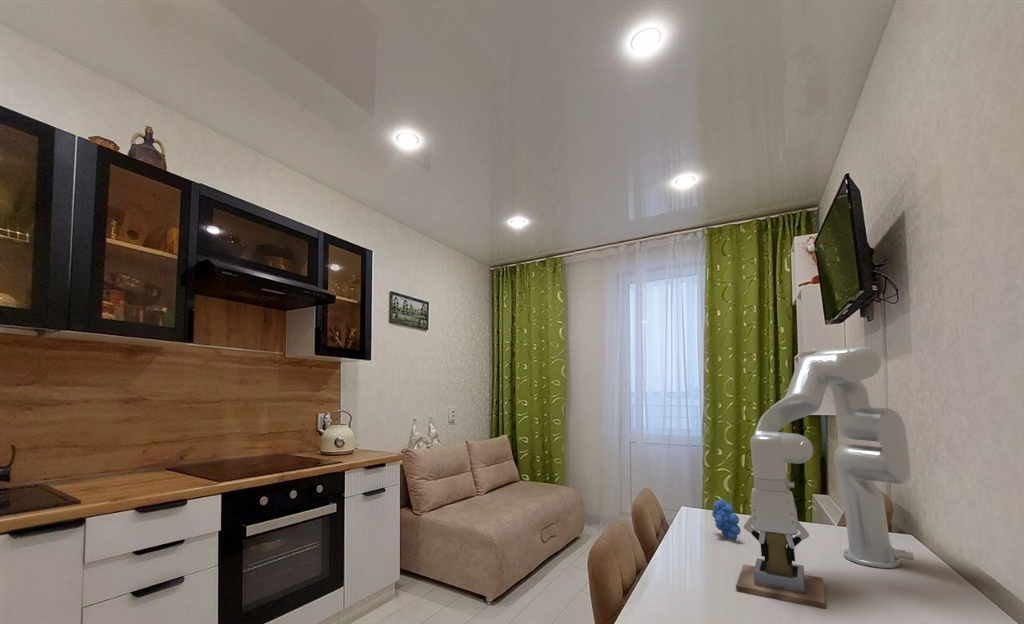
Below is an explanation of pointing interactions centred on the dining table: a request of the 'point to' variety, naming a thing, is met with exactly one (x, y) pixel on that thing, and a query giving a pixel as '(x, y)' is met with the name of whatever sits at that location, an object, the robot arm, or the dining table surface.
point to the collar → (779, 578)
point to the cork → (777, 554)
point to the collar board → (811, 596)
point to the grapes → (726, 519)
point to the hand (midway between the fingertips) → (778, 560)
